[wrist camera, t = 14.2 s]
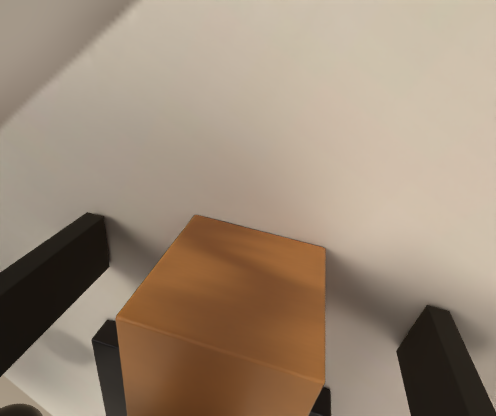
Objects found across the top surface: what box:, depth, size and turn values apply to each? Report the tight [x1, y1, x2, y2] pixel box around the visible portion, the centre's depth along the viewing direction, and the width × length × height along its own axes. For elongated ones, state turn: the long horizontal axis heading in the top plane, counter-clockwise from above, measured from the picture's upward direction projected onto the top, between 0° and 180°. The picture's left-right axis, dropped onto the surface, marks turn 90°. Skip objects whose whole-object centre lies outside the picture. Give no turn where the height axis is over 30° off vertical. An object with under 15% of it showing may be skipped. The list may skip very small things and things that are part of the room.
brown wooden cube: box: [116, 215, 326, 416], centre depth 10 cm, size 5×5×5 cm
